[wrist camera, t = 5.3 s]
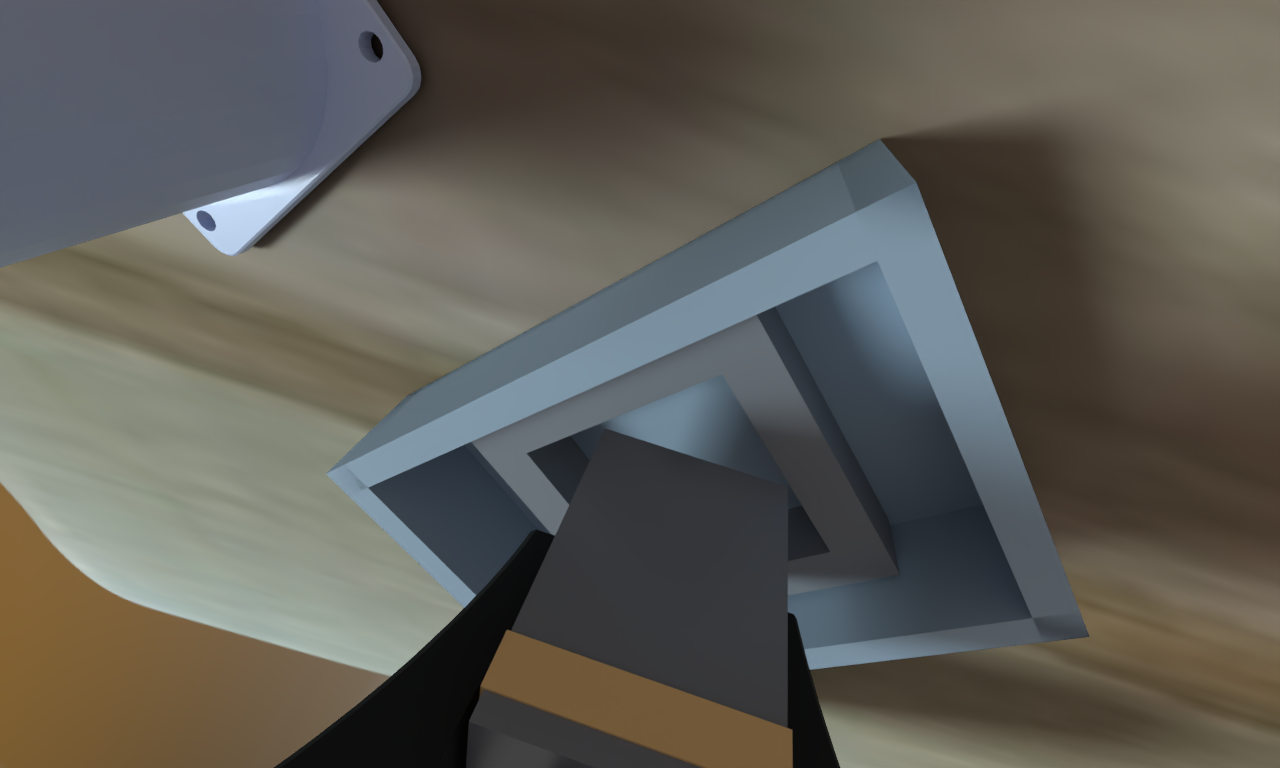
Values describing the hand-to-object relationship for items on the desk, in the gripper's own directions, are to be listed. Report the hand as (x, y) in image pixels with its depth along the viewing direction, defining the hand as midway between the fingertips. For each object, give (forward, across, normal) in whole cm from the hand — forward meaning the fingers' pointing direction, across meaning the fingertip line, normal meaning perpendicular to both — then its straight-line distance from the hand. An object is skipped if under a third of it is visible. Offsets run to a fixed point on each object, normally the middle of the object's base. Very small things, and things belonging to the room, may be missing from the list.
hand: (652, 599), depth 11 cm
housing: (+5, 0, 0) cm, 5 cm away
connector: (+2, 0, 0) cm, 2 cm away
